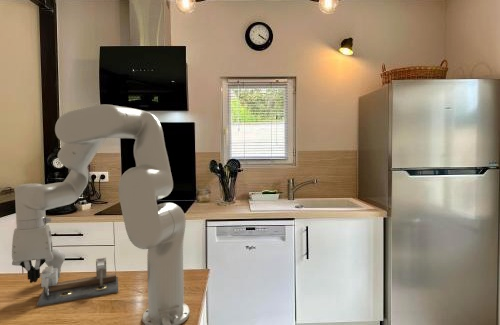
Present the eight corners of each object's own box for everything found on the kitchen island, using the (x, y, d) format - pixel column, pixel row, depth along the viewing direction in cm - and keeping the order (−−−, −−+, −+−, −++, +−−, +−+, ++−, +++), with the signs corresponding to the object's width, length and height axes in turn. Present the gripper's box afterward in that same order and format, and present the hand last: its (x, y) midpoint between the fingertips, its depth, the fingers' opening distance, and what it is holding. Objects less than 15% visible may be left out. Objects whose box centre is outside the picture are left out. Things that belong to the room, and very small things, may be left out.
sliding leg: (54, 294, 96) (53, 272, 96) (39, 297, 94) (38, 274, 94) (58, 284, 103) (57, 264, 102) (43, 287, 101) (42, 265, 101)
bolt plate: (118, 292, 101) (118, 288, 101) (37, 306, 92) (37, 302, 92) (117, 279, 110) (117, 276, 110) (44, 292, 101) (44, 287, 101)
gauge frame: (116, 285, 103) (115, 263, 103) (41, 298, 95) (40, 274, 94) (116, 277, 110) (115, 256, 109) (45, 288, 101) (44, 265, 101)
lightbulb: (54, 275, 114) (52, 246, 113) (69, 276, 113) (68, 246, 113) (41, 283, 108) (39, 252, 107) (57, 284, 107) (56, 252, 106)
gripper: (61, 218, 104) (63, 272, 105) (5, 223, 98) (8, 280, 99) (57, 223, 97) (59, 281, 98) (-3, 229, 91) (1, 290, 92)
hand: (34, 280), depth 98 cm, fingers closed
